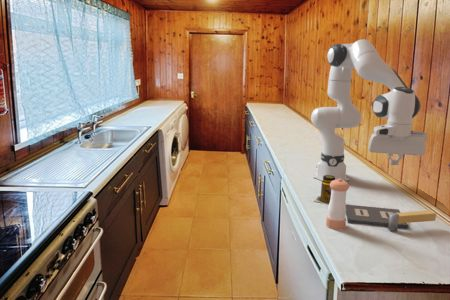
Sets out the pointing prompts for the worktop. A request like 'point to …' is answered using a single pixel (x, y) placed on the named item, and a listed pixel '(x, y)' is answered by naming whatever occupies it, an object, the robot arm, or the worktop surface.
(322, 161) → the robot arm
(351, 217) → the board
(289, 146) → the worktop surface
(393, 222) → the tan piece
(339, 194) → the pepper shaker
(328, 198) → the condiment
